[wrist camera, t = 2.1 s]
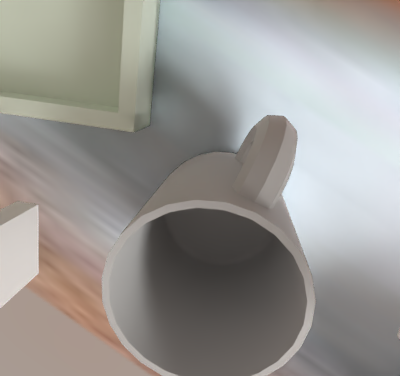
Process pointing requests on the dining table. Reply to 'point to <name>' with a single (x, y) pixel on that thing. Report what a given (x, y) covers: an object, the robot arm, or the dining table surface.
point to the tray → (79, 61)
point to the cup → (215, 265)
